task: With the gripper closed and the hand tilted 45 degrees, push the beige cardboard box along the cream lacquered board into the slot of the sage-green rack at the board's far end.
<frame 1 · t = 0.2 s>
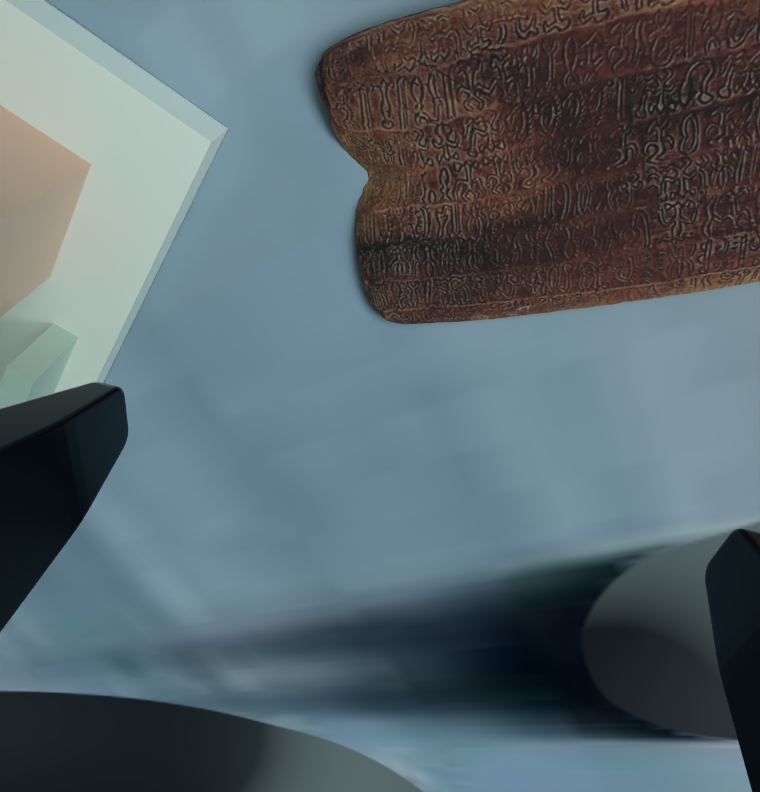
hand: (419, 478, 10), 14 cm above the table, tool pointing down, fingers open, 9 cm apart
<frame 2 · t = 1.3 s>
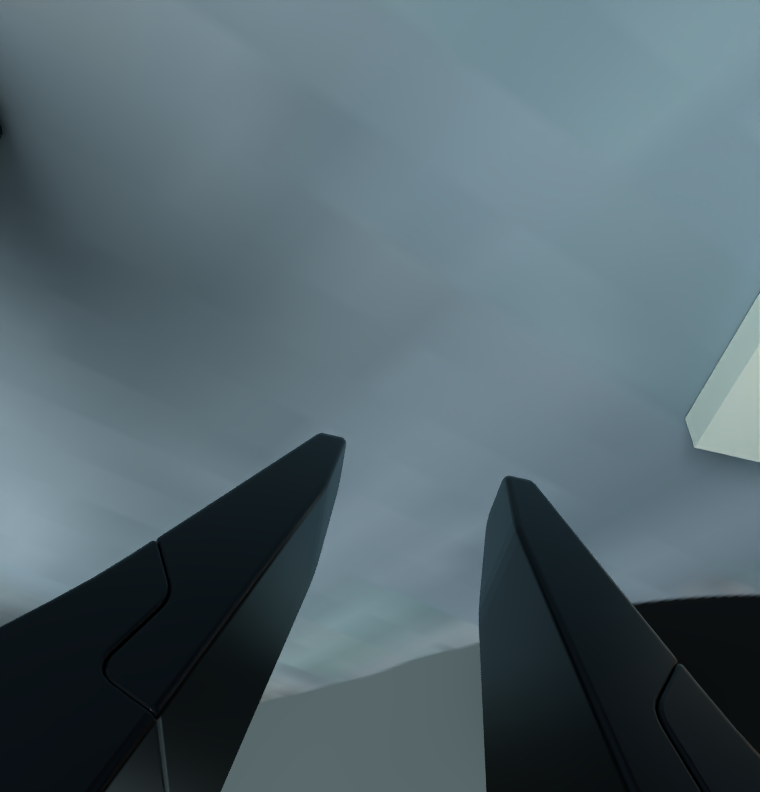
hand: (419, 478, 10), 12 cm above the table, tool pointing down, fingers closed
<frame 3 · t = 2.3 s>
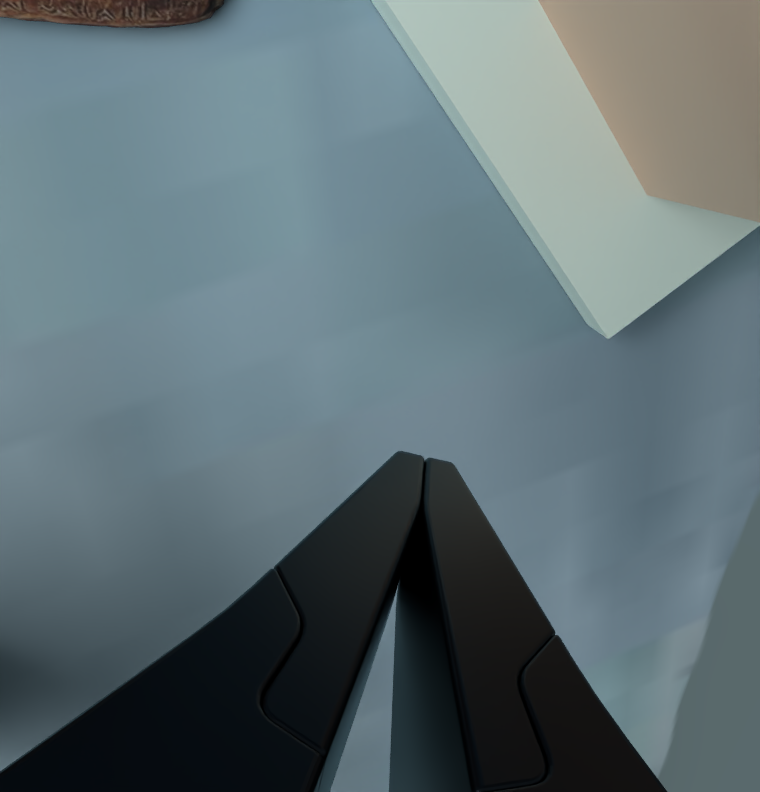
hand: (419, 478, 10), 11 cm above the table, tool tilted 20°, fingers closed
beige cardboard box: (675, 37, 17), point 1 cm above the table, touching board
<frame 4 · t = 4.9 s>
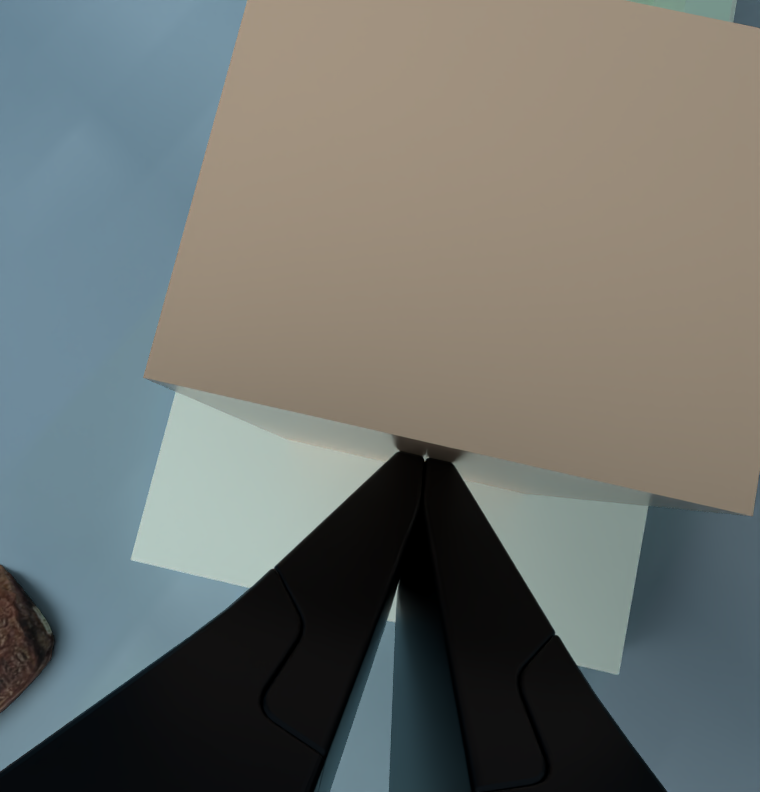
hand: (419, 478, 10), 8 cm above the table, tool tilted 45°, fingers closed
beige cardboard box: (426, 368, 17), point 1 cm above the table, touching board
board: (445, 280, 18), on the table
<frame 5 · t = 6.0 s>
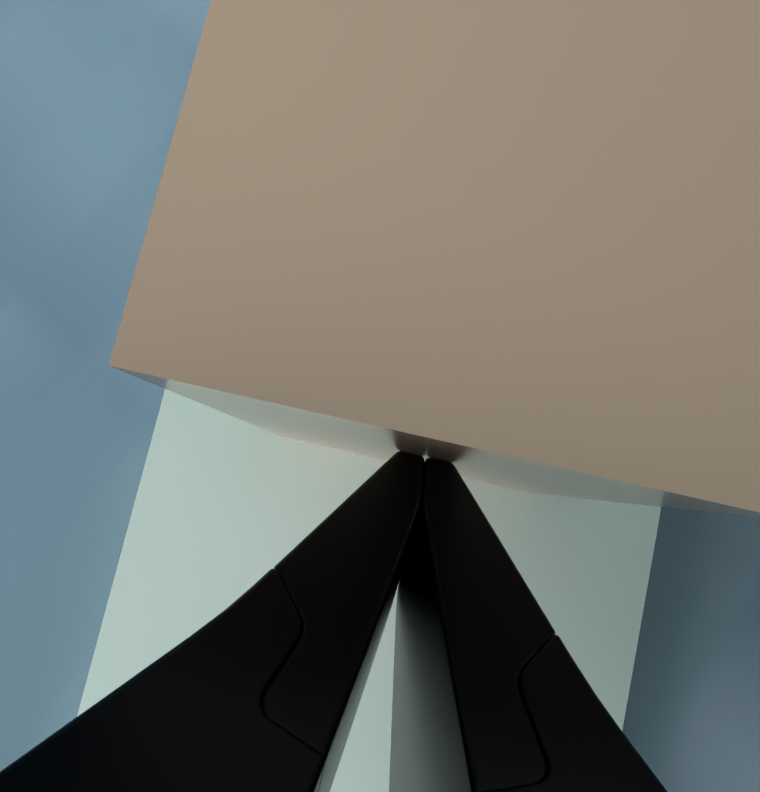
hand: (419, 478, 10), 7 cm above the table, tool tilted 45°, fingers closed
beige cardboard box: (428, 362, 16), point 1 cm above the table, touching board
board: (401, 478, 17), on the table
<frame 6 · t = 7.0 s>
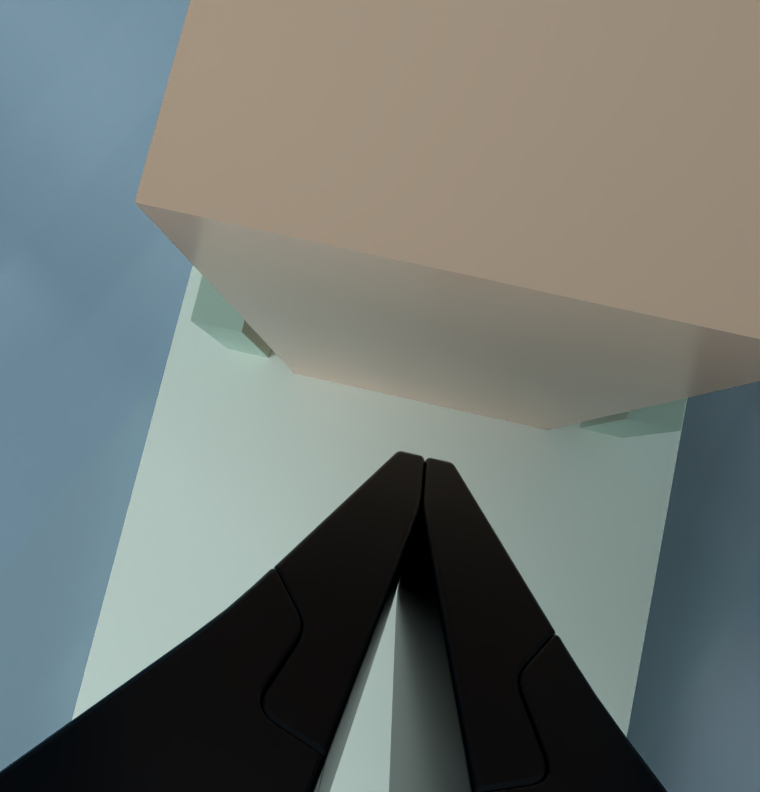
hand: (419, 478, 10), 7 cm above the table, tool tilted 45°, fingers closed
beige cardboard box: (442, 298, 16), point 1 cm above the table, touching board
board: (411, 437, 17), on the table
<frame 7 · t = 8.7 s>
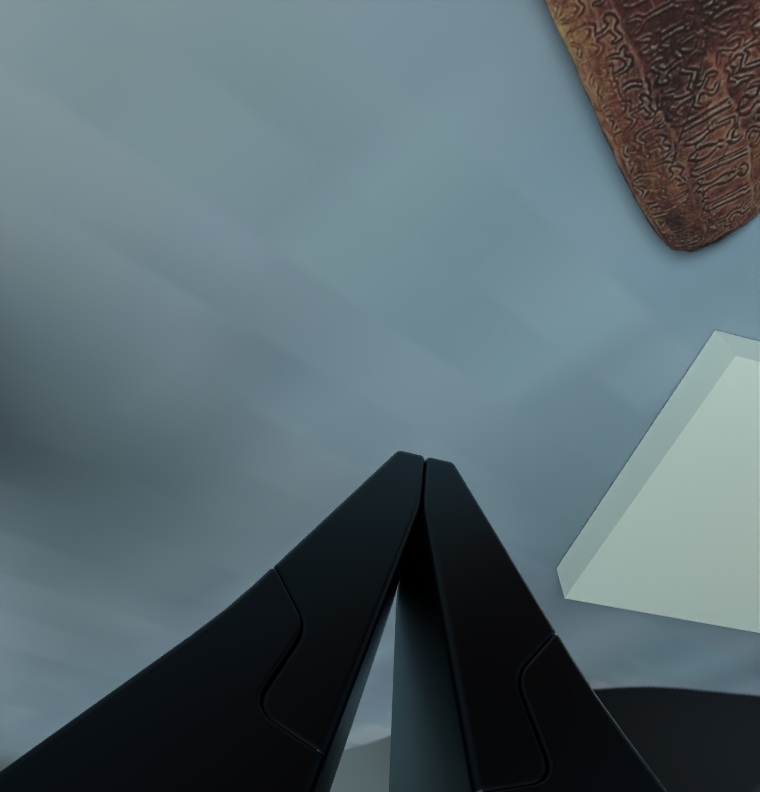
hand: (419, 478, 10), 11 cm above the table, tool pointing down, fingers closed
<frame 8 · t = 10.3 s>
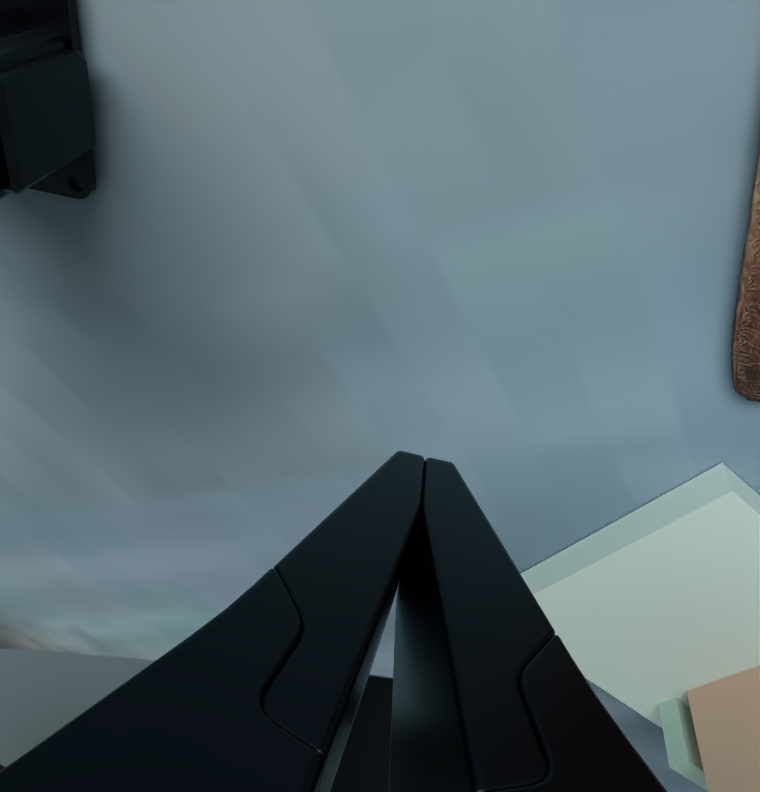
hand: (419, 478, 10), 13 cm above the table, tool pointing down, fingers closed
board: (725, 632, 31), on the table
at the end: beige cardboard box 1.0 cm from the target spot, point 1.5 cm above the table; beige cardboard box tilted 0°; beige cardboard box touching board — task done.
